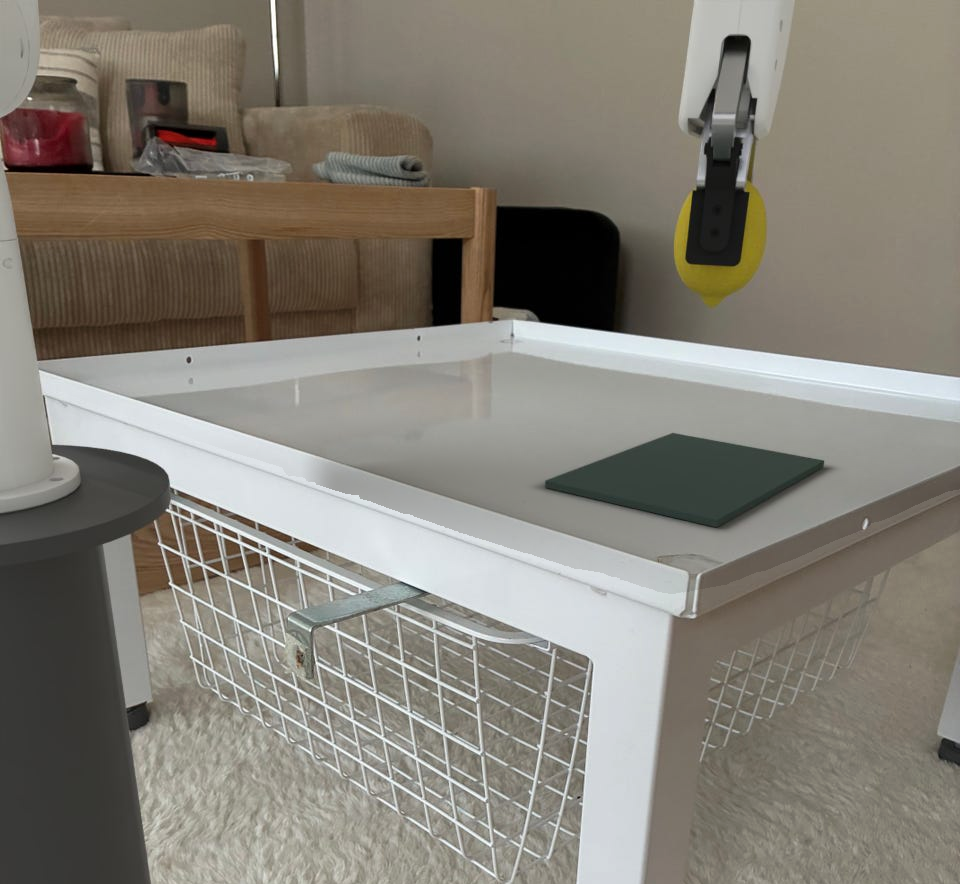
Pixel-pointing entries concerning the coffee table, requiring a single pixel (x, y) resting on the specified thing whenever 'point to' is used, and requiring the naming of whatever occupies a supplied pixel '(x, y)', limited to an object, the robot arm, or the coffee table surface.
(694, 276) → the lemon
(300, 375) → the coffee table surface
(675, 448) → the edge mat
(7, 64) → the robot arm
